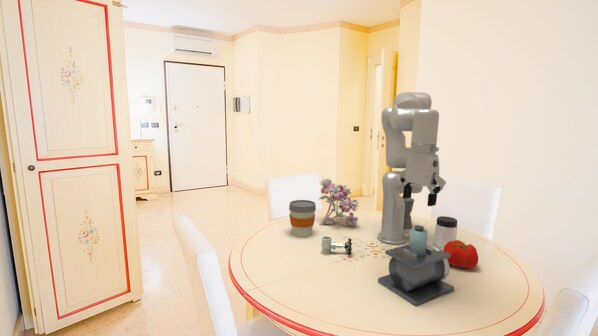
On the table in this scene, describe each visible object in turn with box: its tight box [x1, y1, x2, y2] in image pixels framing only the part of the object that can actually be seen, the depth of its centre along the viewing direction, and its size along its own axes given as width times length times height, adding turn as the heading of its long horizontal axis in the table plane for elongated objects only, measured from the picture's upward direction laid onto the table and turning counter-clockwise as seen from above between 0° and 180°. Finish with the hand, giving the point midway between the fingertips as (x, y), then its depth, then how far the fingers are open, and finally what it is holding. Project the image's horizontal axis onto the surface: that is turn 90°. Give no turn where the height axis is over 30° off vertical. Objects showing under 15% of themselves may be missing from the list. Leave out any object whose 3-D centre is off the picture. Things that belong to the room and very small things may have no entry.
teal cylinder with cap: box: [408, 224, 429, 256], centre depth 105 cm, size 5×5×9 cm
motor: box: [377, 243, 455, 307], centre depth 106 cm, size 18×16×13 cm
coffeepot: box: [400, 195, 415, 230], centre depth 164 cm, size 15×9×18 cm, turn 162°
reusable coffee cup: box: [288, 199, 317, 238], centre depth 152 cm, size 13×13×15 cm
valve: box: [321, 235, 353, 255], centre depth 132 cm, size 7×7×12 cm
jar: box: [433, 215, 458, 249], centre depth 142 cm, size 9×8×12 cm
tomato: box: [442, 239, 479, 269], centre depth 123 cm, size 13×12×8 cm
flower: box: [318, 178, 359, 227], centre depth 165 cm, size 20×22×25 cm
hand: (418, 201), depth 105 cm, fingers open, 9 cm apart
